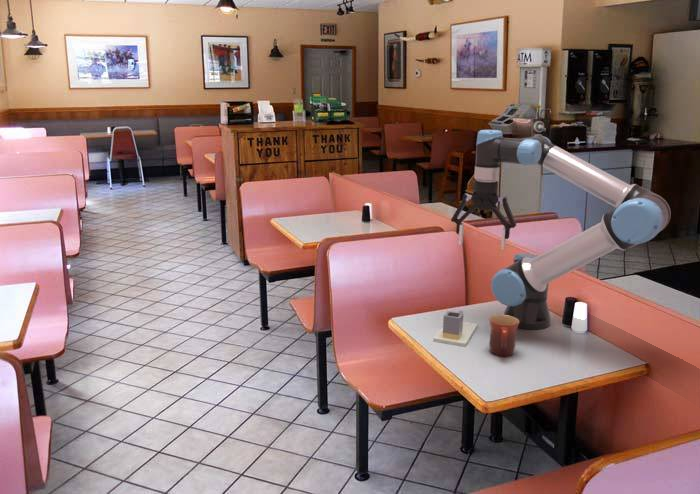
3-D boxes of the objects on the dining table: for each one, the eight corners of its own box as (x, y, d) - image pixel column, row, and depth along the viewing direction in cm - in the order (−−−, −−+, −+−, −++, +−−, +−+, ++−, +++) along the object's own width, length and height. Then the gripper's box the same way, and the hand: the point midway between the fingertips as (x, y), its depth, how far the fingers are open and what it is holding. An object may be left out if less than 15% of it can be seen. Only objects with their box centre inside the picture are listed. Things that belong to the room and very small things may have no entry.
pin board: (477, 326, 208) (478, 309, 206) (465, 346, 192) (466, 328, 190) (447, 322, 212) (448, 305, 210) (433, 341, 195) (434, 322, 194)
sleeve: (462, 334, 199) (463, 313, 197) (458, 339, 194) (459, 318, 193) (446, 331, 201) (447, 310, 199) (442, 337, 196) (443, 315, 194)
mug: (486, 345, 193) (488, 313, 191) (515, 348, 192) (518, 316, 189) (486, 361, 182) (489, 327, 179) (518, 364, 180) (521, 330, 178)
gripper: (528, 181, 197) (523, 247, 202) (450, 175, 206) (446, 239, 211) (525, 184, 190) (519, 253, 195) (444, 178, 199) (440, 244, 205)
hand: (481, 246), depth 203 cm, fingers open, 13 cm apart
